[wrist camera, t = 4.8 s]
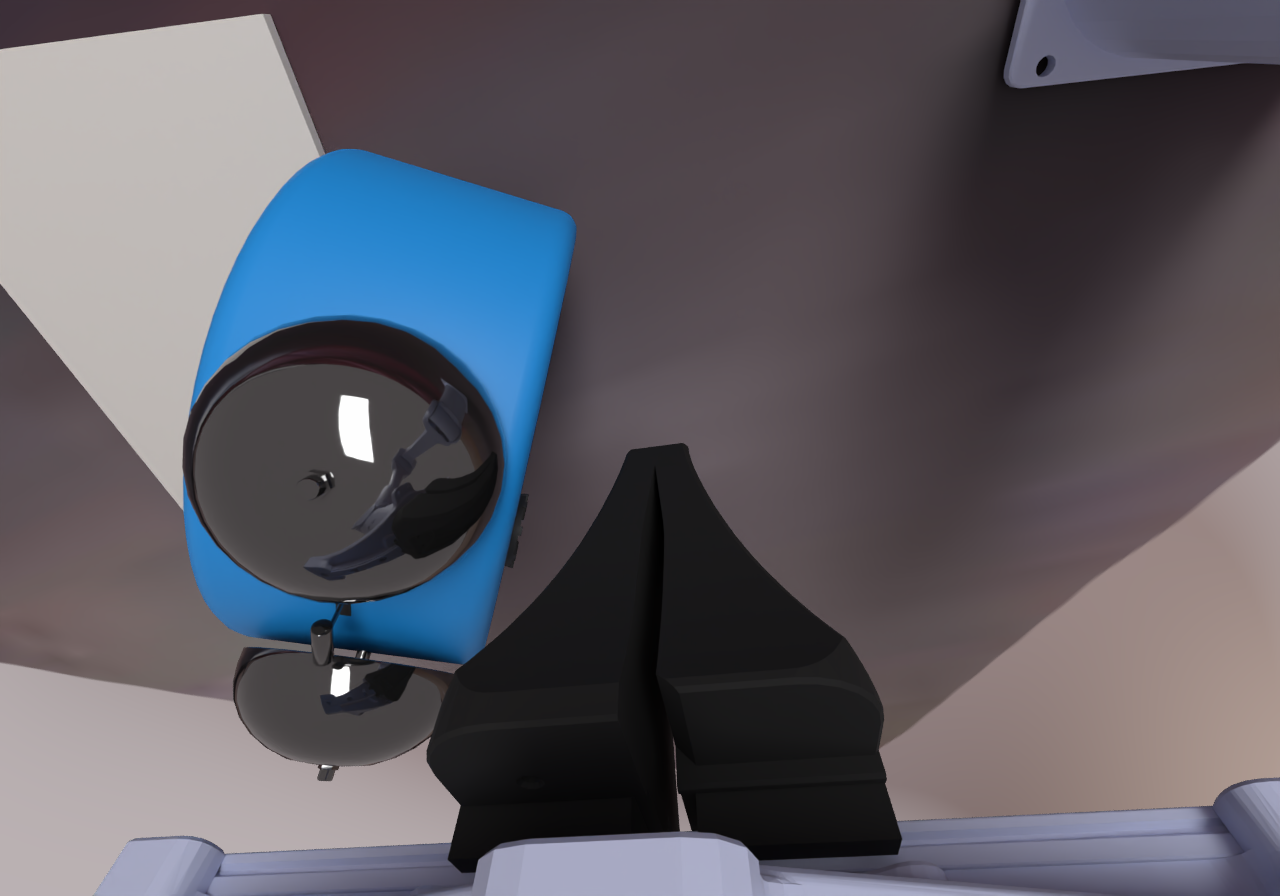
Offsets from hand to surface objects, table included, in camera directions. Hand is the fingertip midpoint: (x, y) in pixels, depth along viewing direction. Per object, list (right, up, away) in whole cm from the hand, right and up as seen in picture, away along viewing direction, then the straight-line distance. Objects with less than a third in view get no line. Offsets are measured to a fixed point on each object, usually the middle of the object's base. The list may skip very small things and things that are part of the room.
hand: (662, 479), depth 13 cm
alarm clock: (-7, +6, +9) cm, 13 cm away
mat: (-17, +5, +10) cm, 20 cm away
